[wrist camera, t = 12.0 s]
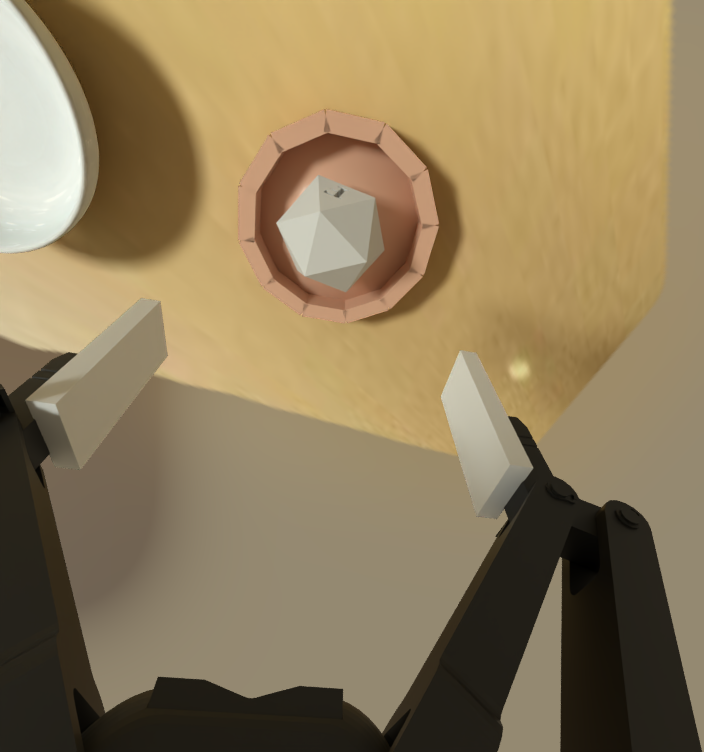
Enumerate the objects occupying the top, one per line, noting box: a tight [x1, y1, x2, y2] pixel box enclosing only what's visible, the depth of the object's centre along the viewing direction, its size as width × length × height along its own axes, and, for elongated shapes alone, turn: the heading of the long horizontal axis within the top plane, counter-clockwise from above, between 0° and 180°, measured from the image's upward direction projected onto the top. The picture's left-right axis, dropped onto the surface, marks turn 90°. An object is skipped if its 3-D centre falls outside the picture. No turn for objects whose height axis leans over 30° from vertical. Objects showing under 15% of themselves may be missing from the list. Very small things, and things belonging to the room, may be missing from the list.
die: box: [276, 175, 384, 292], centre depth 33 cm, size 8×9×10 cm
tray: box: [238, 109, 439, 323], centre depth 35 cm, size 18×18×4 cm
